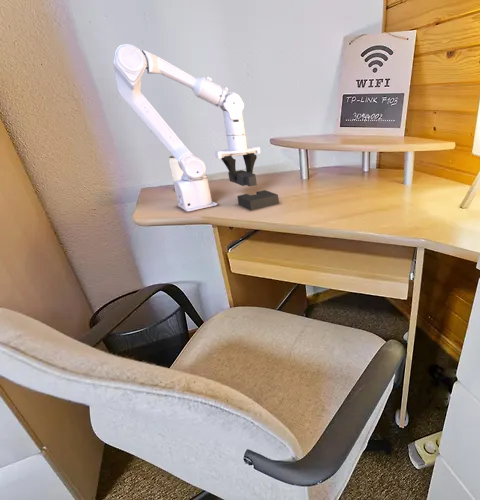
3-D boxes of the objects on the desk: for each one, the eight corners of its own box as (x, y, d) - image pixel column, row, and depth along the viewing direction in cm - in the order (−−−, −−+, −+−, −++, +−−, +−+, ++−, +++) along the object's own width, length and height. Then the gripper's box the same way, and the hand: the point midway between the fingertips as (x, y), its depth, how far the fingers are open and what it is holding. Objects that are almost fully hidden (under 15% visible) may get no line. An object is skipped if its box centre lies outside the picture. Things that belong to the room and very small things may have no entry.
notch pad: (251, 210, 97) (249, 201, 96) (238, 204, 102) (237, 195, 101) (278, 203, 104) (278, 194, 102) (265, 198, 109) (264, 189, 107)
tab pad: (246, 187, 100) (244, 177, 99) (229, 181, 107) (228, 172, 106) (260, 184, 103) (259, 175, 102) (243, 178, 110) (241, 170, 109)
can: (198, 187, 122) (191, 154, 117) (188, 191, 116) (181, 158, 111) (182, 186, 123) (174, 154, 117) (172, 191, 117) (163, 157, 112)
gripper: (250, 132, 107) (255, 172, 113) (207, 135, 97) (215, 179, 103) (261, 133, 102) (266, 175, 108) (217, 137, 93) (225, 183, 99)
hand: (242, 178), depth 105 cm, fingers closed on tab pad, 5 cm apart
